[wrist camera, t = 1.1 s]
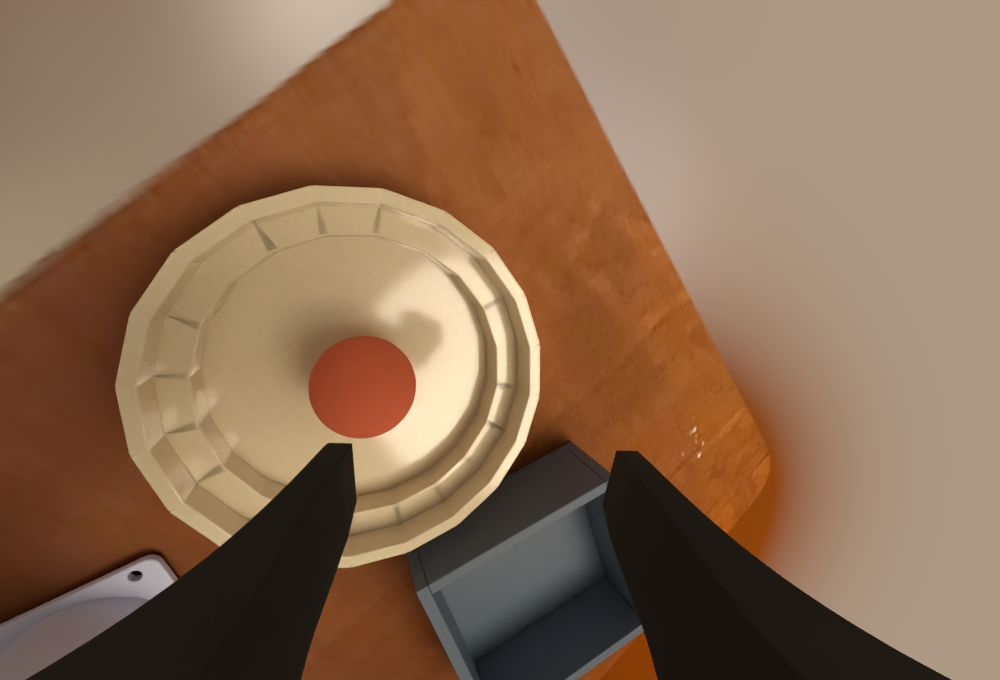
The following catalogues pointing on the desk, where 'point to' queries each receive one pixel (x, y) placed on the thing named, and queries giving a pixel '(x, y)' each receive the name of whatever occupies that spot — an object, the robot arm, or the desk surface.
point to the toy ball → (362, 387)
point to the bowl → (298, 345)
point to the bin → (529, 577)
